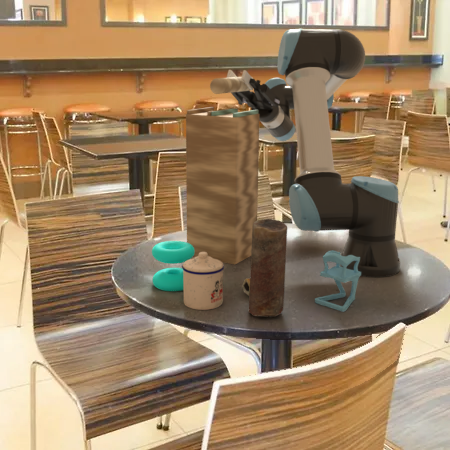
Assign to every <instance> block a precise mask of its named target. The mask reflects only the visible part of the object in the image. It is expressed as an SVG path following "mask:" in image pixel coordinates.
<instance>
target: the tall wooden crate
mask: <svg viewBox="0 0 450 450" xmlns="http://www.w3.org/2000/svg"><path fill="white" fill-rule="evenodd" d="M258 112H259V110H252V109H251V110H246V111H239V109H238V108H237V107H236V108H233V107H231V108H225V109H224V108H223V109H217V110H216V109H215V107H214V106H209V107H203V108H201V107H200V108H195V109H187V110H186V114H185V139H186V140H185V155H186V156H185V157H186V159H185V162H186V163H185V165H186V167H185V172H186V173H185V174H186V178H185V179H186V180H185V181H186V182H185V183H186V184H185V185H186V242H187V243H189V244H191V245H192V246H193V247H194V250H195V253H194V257H193V258H195V257H197V256H199V253H200V252H207V254H208V256H210V257H212V258H214V259H217V260H220V261H221V262H222V263H223V264H229V265H237V264H239V263H241V262H242V261H244V260H246V259H248V258H249V257H250V258H251V249H252V228H253V224H254V222H255V221H257V220H258V205H259V203H258V196H259V194H258V193H259V157H260V156H259V153H260V147H259V146H260V121H259V114H258Z"/></svg>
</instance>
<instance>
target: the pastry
mask: <svg viewBox="0 0 450 450" xmlns="http://www.w3.org/2000/svg"><path fill="white" fill-rule="evenodd" d="M242 290H243V293H244V294H246V295H247V296H248V297H249V291H250V277H248V278H245V279H244V280H243V282H242Z"/></svg>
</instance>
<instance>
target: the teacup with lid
mask: <svg viewBox="0 0 450 450" xmlns="http://www.w3.org/2000/svg"><path fill="white" fill-rule="evenodd" d="M181 268H182V269H183V282H184V290H183V304H184V305H185V306H186V307H188V309H193V310H196V311H197V310H199V311H201V310H203V311H207V310H213V309H216V308H219V307H220V306H221V305H222V304H223V299H224V293H223V292H224V291H223V290H224V288H223V287H224V284H223V283H224V269H225V265H224V262H221V261H220V260H217V259H214V258H212V257H210V256H208V254H207V252H200V253H199V256H197V257H192V258H191V259H189V260H187V261H185V262H183V263H182V266H181Z"/></svg>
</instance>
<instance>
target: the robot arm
mask: <svg viewBox="0 0 450 450" xmlns="http://www.w3.org/2000/svg"><path fill="white" fill-rule="evenodd" d="M278 48H279V49H278V52H277V53H278V56H277V72H278V74H279V75H281V76H285V79H283V78H280V77H273V78H272V77H271V78H270V79H268V80H267V81H266V82H264V83H262V84H261V80H260V79H255V78H254V77H253V76H252V75H250V73H249V72H248V71H247V70H245V69H244V70H242V74H241V77H242V78H241V80H242V81H243V82H244V83H245V84H246V85H247V87H248V88H249V89H250V91H241V92H232V93H230V94H231V96H233V97H234V98H235V100H236V101H237V102H238V105H240V106H243V105H244V104H246V105H247V106H248V107H249V108H251V110H259V112H258V114H259V123H261V124H262V126H263V127H264V128H265V129H266V130H267V131H268V132H269V134H271V136H272V137H273V138H275V139H276V140H278V141H280V142H286V141H289V140H290V139H291V138H292V137H293V136H294V134H295V132H296V141H297V153H298V164H299V173H298V175H297V176H296V177H295V178H294V184H292V185H290V187H289V190H288V198H289V199H288V203H289V210H290V211H289V212H290V215H291V218H292V221H293V222H294V224H295V226H296V227H297V228H298V229H299V230H301V231H304V232H305V231H307V232H308V231H309V232H314V233H316V232H319V231H320V232H321V231H324V232H325V231H347V230H348V237H347V240H346V243H345V246H344V247H343V248H344V249H343V252H342V253H341V255H342V256H348V255H353V256H356V257H360V261H359V264H358V267H357V268H358V271H359V272H361V276H360V277H371V278H383V277H390V276H393V275H397V274H398V273H399V272H400V271H401V270H400V269H401V259H400V258H399V252H398V249H397V248H398V247H397V242H396V233H397V219H398V208H399V207H398V206H399V203H400V202H399V188H398V186H397V185H396V184H395V183H394V182H393V181H389V180H387V179H382V178H377V177H371V176H364V175H363V176H362V175H361V176H360V175H359V176H357V175H356V176H353V177H352V178H351V180H350V183H343V182H342V181H343V180H342V175H341V173H340V172H338V171H337V170H336V168H335V166H334V164H335V163H334V156H333V146H332V145H333V144H332V135H331V127H330V116H329V115H330V114H329V109H331V108H332V107H333V103H334V98H335V96H334V94H335V92H337V91H338V89H339V88H340V87H342V85H344V83H345V82H346V81H347V80H350V79H352V78H353V79H354V77H356V76H357V75H358V74H359V73H360V72H361V71H362V69H363V68H364V65H365V62H366V51H365V47H364V45H363V43H362V41H361V40H360V39H359V38H358V37H357V36H356V35H355V34H353V33H352V32H350V31H348V30H343V29H342V28H341V29H339V28H337V29H336V28H334V29H328V28H327V29H326V28H325V29H322V28H320V29H319V28H313V29H312V28H307V29H306V28H301V27H299V28H295V29H294V28H293V29H287V30H285V31H284V33H283V34H282V36H281V39H280V43H279V47H278ZM231 77H238V76H237V75H236V74H235V73H234V71H233V70H232V69H228V71H227V75H226V78H231ZM291 110H294V112H293V113H294V120H295V124H294V122H293V120H292V119H291ZM355 263H356V261H352V262H351V263H350V264H349V265H348V266H347V267H346V268H347V269H350V270H354V265H355ZM340 266H341V267H343V266H342V265H340Z"/></svg>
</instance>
